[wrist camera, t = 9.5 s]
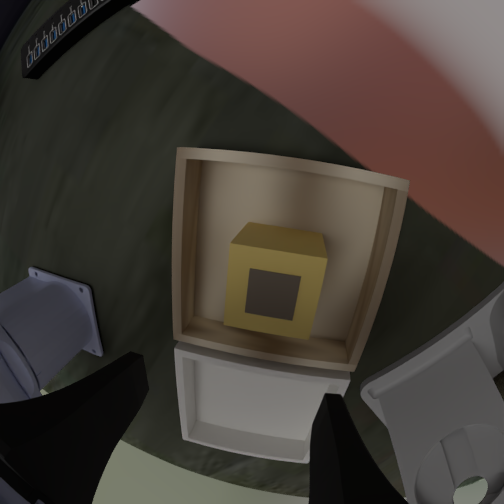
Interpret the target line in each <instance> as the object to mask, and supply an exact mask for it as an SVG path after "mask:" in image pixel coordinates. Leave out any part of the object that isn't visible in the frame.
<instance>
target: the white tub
mask: <svg viewBox="0 0 504 504" xmlns="http://www.w3.org/2000/svg"><path fill="white" fill-rule="evenodd" d="M174 354H175V369H176V381H177V393H178V403H179V412H180V421H181V429H182V437H183V439H184V440H188V441H191V442H194V443H198V444H202V445H205V446H209V447H213V448H217V449H221V450H225V451H230V452H234V453H239V454H244V455H249V456H255V457H261V458H267V459H274V460H281V461H289V462H298V463H308V462H309V460H310V439H311V430H312V423H313V421H314V418H315V416H316V414H317V411H318V409H319V406H320V404H321V401H322V399H323V396H324V394H325V393H333V394H341V395H342V397H343V396H344V394H345V392H346V389H347V387H348V385H349V383H350V381H351V379H350V372H349V371H341V370H332V369H324V368H316V367H308V366H301V365H295V364H288V363H282V362H276V361H270V360H264V359H259V358H254V357H248V356H243V355H238V354H234V353H229V352H224V351H220V350H215V349H211V348H207V347H202V346H198V345H194V344H190V343H186V342H183V341H179V342H178V343H177V345H176V346H175V348H174Z"/></svg>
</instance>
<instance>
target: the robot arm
mask: <svg viewBox="0 0 504 504" xmlns="http://www.w3.org/2000/svg"><path fill="white" fill-rule="evenodd" d="M29 275H30V277H28V278H26V279H24V280H23V281H21V282H19V283H17V284H16V285H14V286H12V287H11V288H9V289H7V290H5V291H4V292H2V293H0V504H92V501H93V498H94V495H95V492H96V489H97V487H98V484H99V481H100V479H101V476H102V474H103V471H104V469H105V467H106V465H107V463H108V460H109V458H110V456H111V454H112V452H113V450H114V448H115V447H116V445H117V443H118V442H119V440H120V439H121V437H122V436H123V434H124V433H125V431H126V430H127V428H128V427H129V425H130V423H131V422H132V420H133V419H134V417H135V416H136V414H137V413H138V411H139V409H140V408H141V406H142V403H143V401H144V399H145V397H146V395H147V393H148V390H149V386H148V381H147V376H146V370H145V364H144V358H143V355H140V354H137V353H134V352H131V351H130V352H129V353H127V354H125V355H123V356H122V357H120V358H118V359H117V360H115V361H113V362H112V363H110V364H108V365H107V366H105V367H103V368H102V369H100V370H98V371H96V372H95V373H93V374H91V375H89V376H87V377H85V378H83V379H81V380H79V381H77V382H75V383H73V384H71V385H69V386H67V387H65V388H62V389H60V390H57V391H55V392H52V393H49V394H46V395H43V396H42V394H41V393H40V390H41V389H42V388H43V387H44V386H45V385H46V384H47V383H48V382H49V381H50V380H51V379H52V378H53V377H54V376H55V375H56V374H57V373H58V372H59V371H60V370H61V369H62V368H63V367H64V366H65V365H66V364H67V363H68V362H69V361H70V360H71V359H72V358H73V357H74V356H75V355H76V354H78V353H79V352H80V351H81V350H82V349H83V350H85V351H88V352H90V353H92V354H95V355H97V356H100V357H101V356H102V355H103V349H102V345H101V340H100V335H99V331H98V326H97V321H96V315H95V310H94V304H93V298H92V291H91V288H90V287H89V286H88V285H86V284H82V283H79V282H76V281H73V280H70V279H67V278H64V277H61V276H58V275H55V274H52V273H49V272H46V271H43V270H40V269H38V268H35V267H30V268H29ZM309 504H409V503H408V502H407V501H406V500H405V499H404V498H403V497H402V496H401V495H400V494H399V492H398V491H397V490H396V489H395V488H394V487H393V486H392V485H391V483H390V482H389V481H388V480H387V478H386V477H385V476H384V474H383V473H382V471H381V470H380V469H379V467H378V466H377V464H376V463H375V461H374V460H373V458H372V456H371V455H370V453H369V451H368V450H367V448H366V446H365V444H364V443H363V441H362V439H361V437H360V435H359V433H358V431H357V429H356V427H355V425H354V423H353V421H352V418H351V416H350V414H349V412H348V409H347V407H346V404H345V402H344V400H343V397H342V395H341V394H333V393H325V394H324V396H323V399H322V401H321V404H320V406H319V409H318V411H317V414H316V416H315V418H314V421H313V423H312V430H311V439H310V493H309Z"/></svg>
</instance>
